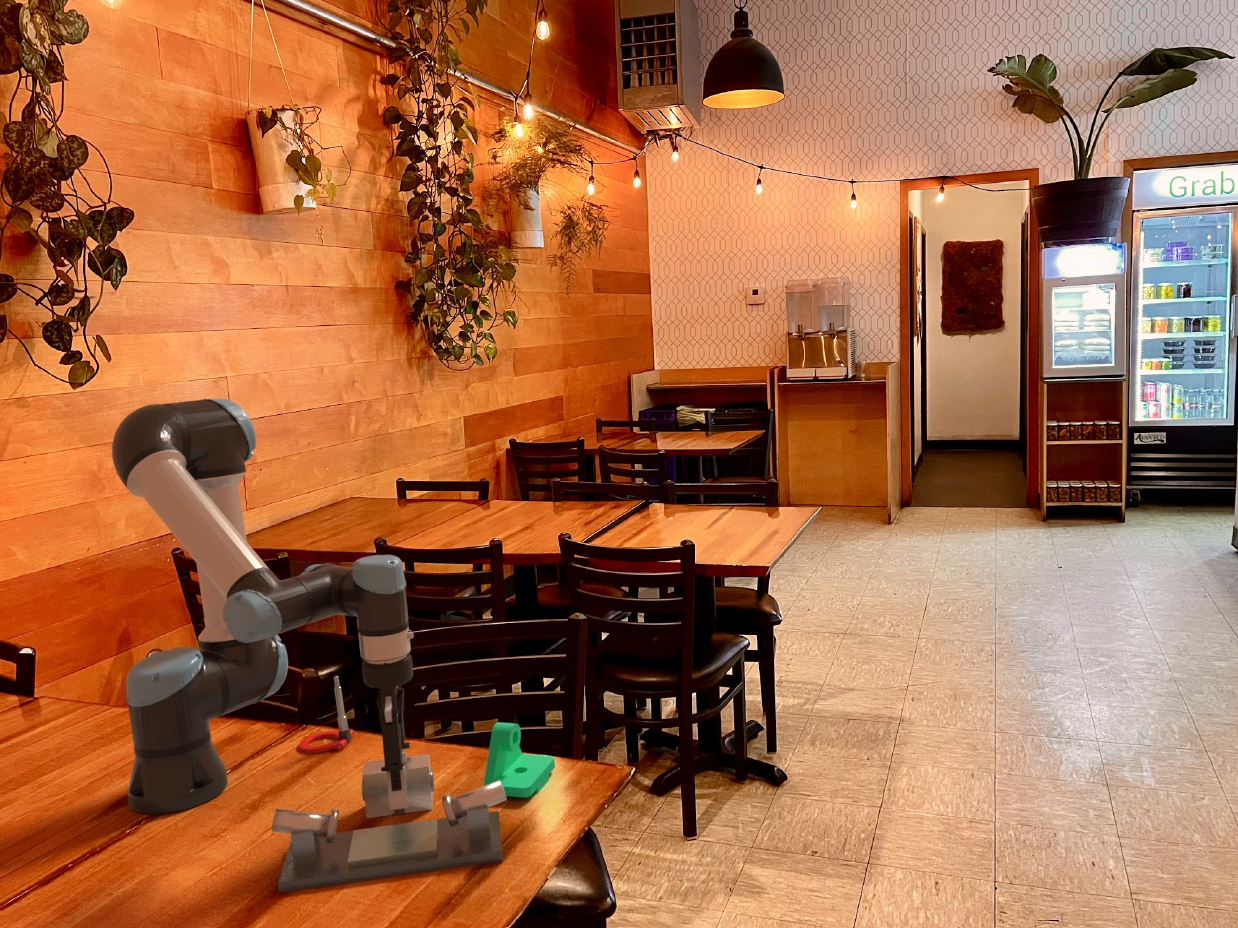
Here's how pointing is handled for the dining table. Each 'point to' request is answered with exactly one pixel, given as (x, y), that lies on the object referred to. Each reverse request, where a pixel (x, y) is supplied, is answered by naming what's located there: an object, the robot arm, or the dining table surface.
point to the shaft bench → (390, 843)
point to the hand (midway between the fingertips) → (399, 798)
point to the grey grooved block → (416, 785)
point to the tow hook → (342, 735)
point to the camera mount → (515, 763)
